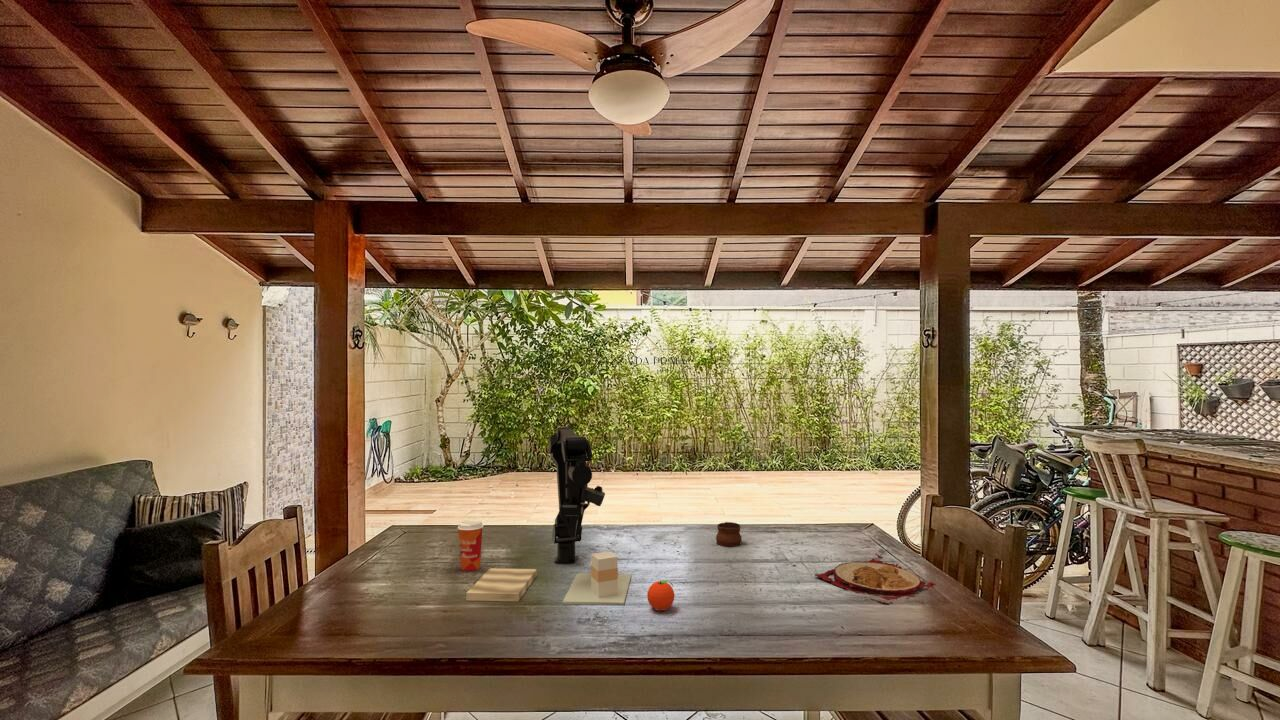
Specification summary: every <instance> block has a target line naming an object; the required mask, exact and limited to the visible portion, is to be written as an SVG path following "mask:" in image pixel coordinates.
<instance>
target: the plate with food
mask: <svg viewBox="0 0 1280 720" xmlns="http://www.w3.org/2000/svg"><path fill="white" fill-rule="evenodd" d="M874 555H875V556H877V559H875V558H874V557H873V558H872V559H870V560H868V561H855V562H845V563H841V564H838V565H836V566H835V568H832V569H829V570H826V572H824V573H814V577H817V578H819V579H823V581H827V582H829V583H831V584H832V585H834V586H837V587H839V588H841V589H845V591H847V592H848V591H853V592H854V593H856V594H864V595H865V594H866V595H870V596H872V595H873V597H878V598H881V599H883V600H884V601H883V600H882V601H881V600H878V602H879V603H881V604H885V603H888V605H891V604H893V602H892V601H890V600H898V599H901V598H904V597H906V598H905V599H908V598H912V597H917V596H916V593H915V592H917V591H918V590H920V589H924V590H925V591H927V590H929V589H930V588H935V586H937V583H935V582H932V581H930V582H928V583H926V581H924V580H921V578H920V577H919V576H917V574H916V573H913V572H911V571H910V570H907V569H904V568H902V566H901V565H899V564H898V563H896V564H895V563H888V562H883V561H881V560H878V559H882V560H883V559H884V557H883V556H881V555H880V554H877V553H874ZM830 575H833V578H832V577H829V576H830ZM929 591H930V590H929ZM862 597H863V598H867V596H862ZM869 600H871V601H874V600H875V601H876V599H873V598H869ZM885 600H886V601H885ZM888 601H890V602H888Z"/></svg>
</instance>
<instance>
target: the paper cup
mask: <svg viewBox="0 0 1280 720" xmlns="http://www.w3.org/2000/svg"><path fill="white" fill-rule="evenodd" d="M483 528H484V524H483V523H482V520H477V519H469V520H464V521H461V522H459V523H458V526H457V530H458V540H459V556H460V557H459V558H460V569H461V571H462V572H463V571H464V572H473V571H477V570H480V568H481V560H482V559H481V558H482V557H481V556H482V541H483V538H482V537H483Z"/></svg>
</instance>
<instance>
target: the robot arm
mask: <svg viewBox="0 0 1280 720" xmlns="http://www.w3.org/2000/svg"><path fill="white" fill-rule="evenodd" d="M548 454H550V460H551V462H552V463H553V464H554V465H555V466H556V481H557V499H558V513H557V515H556V517H555V519H554V523H553V526H552V531H551V540H552V542H553V544H554V545H557V546H556V547H557V548H556V549H557V551H556V552H557V553H556V554H557V555H556V556H557V557H556V558H555V560H554V563H555V564H575V563H576V562H577V560H578V558H579V555H576V542H581V541H582V533H583V526H582V523H583V519H584V515H585V511H586V509H587V508H588V507H589V506H590V505H591V504H593V505H595V506H597V507H601V506H602V504H603V501H604V498H605V495H606V493H605V492H604V491H603V490H604V489H603V486H600V485H597V486H595V488H594V487H589V486H588V484H589V483H590V482H591V481H592V478H593V472H592V470H591V468H590V467H589V466H588V465H587V462H591V461H592V458H593V452H592V447H591V443H590V441H589V439H588V440H587V437H586V436H584V435H577V434H576V432H575V431H574V428H573V427H569V426H567V427H559V428H556V431H555V433H553V434H552V435H551V436H550V437H549V441H548ZM590 503H591V504H590Z"/></svg>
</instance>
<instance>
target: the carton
mask: <svg viewBox="0 0 1280 720" xmlns="http://www.w3.org/2000/svg"><path fill="white" fill-rule="evenodd" d="M590 564H591V565H590V574H591V591H592V592H593V593H594V594H595V595H596V596H597V597H598V598H599V597H605V596H611V595H617V594H618V574H619V567H618V556H617V555H616V554H614V553H613V552H611V551H610V550H609V551H602V552H596V553H591V554H590Z"/></svg>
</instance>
